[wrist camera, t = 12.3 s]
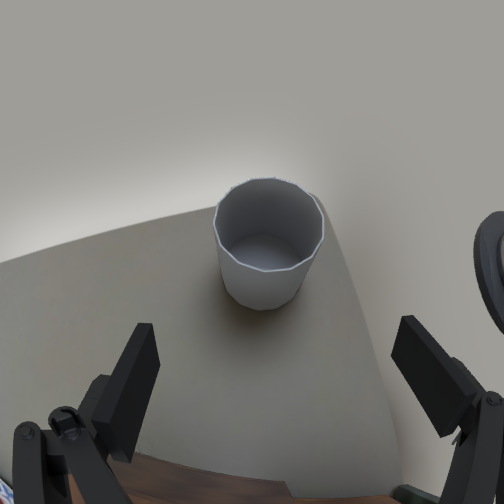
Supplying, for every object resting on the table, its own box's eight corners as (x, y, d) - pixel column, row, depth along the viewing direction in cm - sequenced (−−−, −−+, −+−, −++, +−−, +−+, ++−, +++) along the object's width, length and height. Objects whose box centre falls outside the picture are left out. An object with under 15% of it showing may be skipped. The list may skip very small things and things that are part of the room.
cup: (275, 326, 29) (289, 294, 20) (206, 282, 31) (191, 234, 22) (315, 260, 32) (341, 207, 23) (251, 223, 34) (253, 162, 25)
